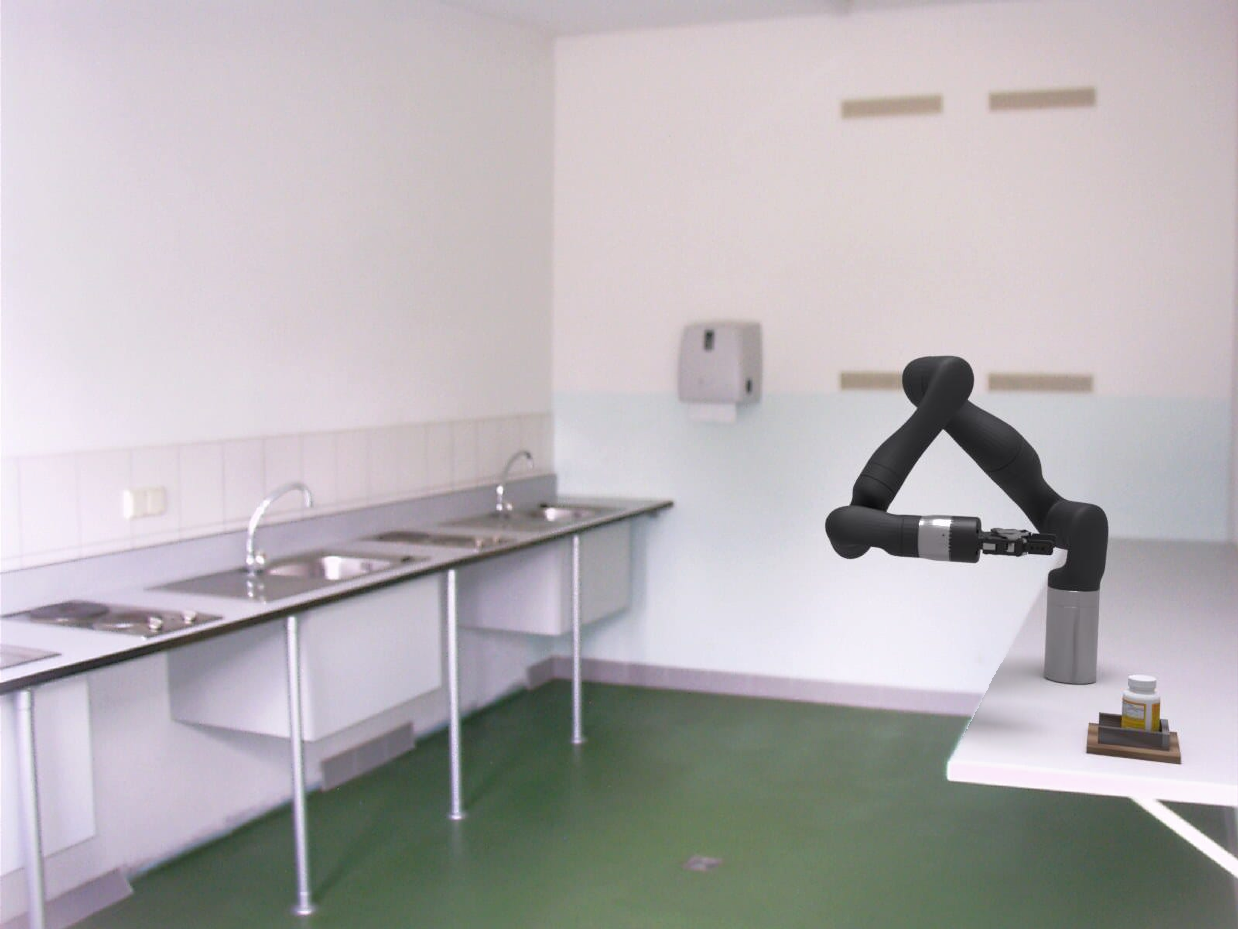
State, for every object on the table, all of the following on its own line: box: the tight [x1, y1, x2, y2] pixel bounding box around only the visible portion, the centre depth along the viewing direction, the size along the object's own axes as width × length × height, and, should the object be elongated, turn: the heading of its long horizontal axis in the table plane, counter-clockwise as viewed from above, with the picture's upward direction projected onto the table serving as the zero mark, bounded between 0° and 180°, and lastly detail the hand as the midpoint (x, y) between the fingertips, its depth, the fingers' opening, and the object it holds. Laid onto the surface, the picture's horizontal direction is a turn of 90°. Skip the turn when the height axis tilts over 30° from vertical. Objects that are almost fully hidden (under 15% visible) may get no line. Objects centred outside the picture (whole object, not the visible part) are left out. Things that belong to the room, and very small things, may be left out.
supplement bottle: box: [1121, 674, 1161, 732], centre depth 194 cm, size 5×5×10 cm
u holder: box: [1086, 711, 1182, 765], centre depth 194 cm, size 14×13×4 cm
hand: (1054, 544), depth 199 cm, fingers open, 8 cm apart
